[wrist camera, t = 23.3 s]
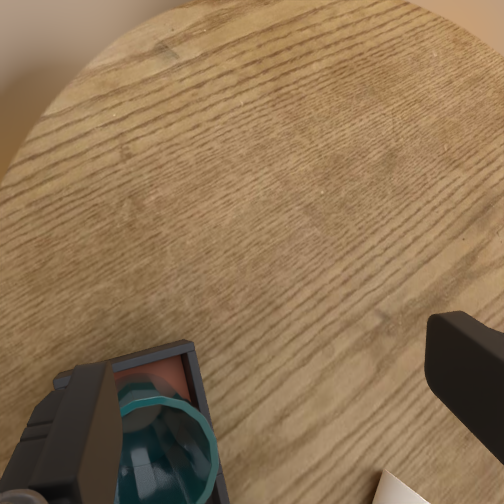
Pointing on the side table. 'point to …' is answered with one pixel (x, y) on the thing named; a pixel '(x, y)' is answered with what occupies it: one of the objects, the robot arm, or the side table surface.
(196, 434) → the cutlery cup
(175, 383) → the divided tray
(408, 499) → the long cone
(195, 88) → the side table surface
